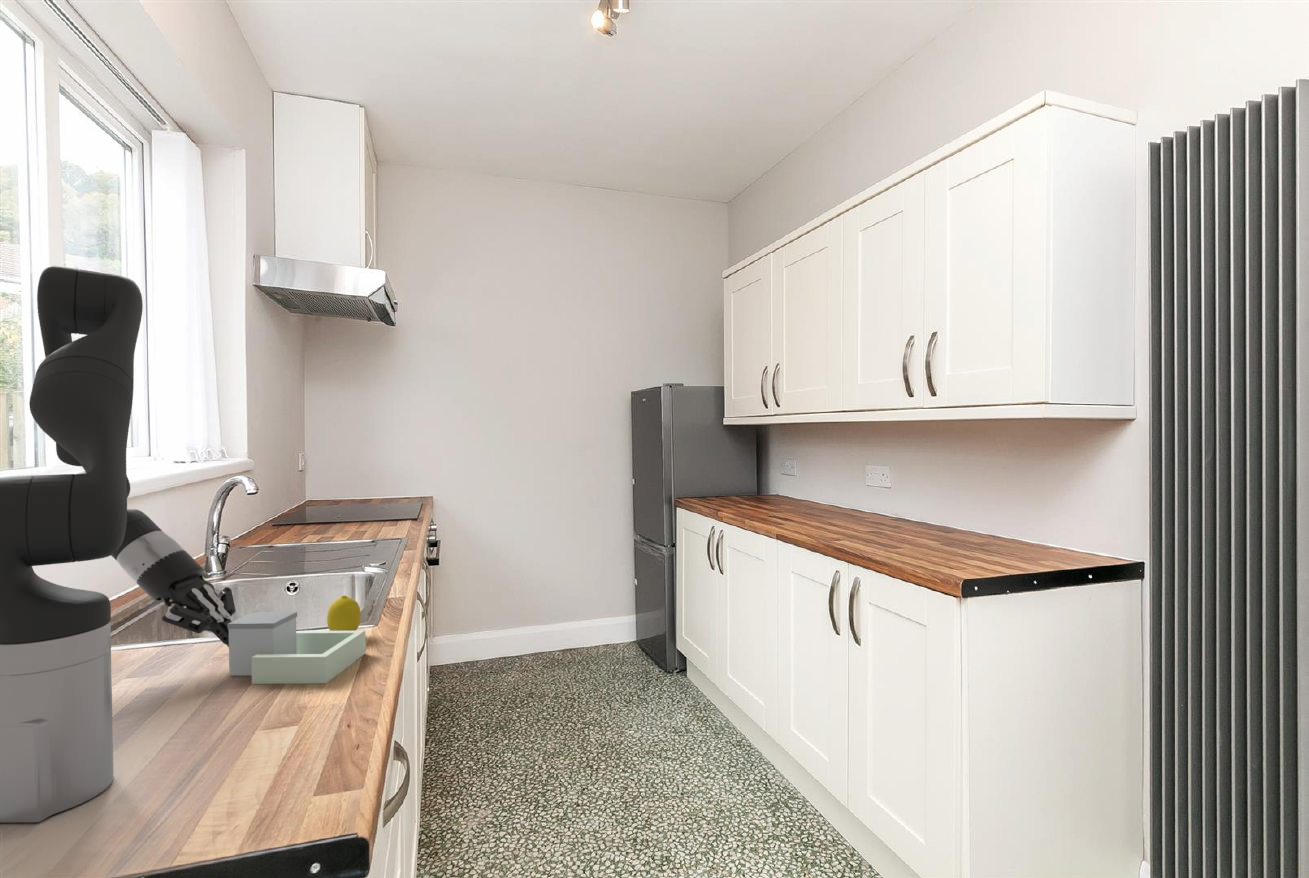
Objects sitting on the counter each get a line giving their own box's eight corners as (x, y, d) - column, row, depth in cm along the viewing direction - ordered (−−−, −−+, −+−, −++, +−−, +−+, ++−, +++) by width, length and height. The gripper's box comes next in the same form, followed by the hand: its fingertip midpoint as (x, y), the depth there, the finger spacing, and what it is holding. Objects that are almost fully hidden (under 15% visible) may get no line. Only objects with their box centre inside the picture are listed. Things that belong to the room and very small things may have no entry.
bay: (326, 683, 93) (325, 656, 93) (251, 683, 93) (251, 657, 93) (365, 654, 105) (365, 630, 105) (300, 654, 105) (299, 631, 105)
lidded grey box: (274, 675, 96) (273, 623, 96) (228, 675, 96) (227, 623, 96) (297, 660, 102) (297, 612, 102) (254, 661, 102) (253, 612, 102)
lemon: (351, 644, 110) (351, 599, 110) (321, 644, 110) (320, 599, 110) (366, 634, 116) (366, 591, 116) (337, 634, 116) (337, 591, 116)
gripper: (142, 557, 92) (225, 639, 92) (207, 542, 105) (279, 613, 106) (107, 593, 92) (190, 674, 92) (176, 573, 105) (248, 644, 106)
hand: (237, 642), depth 99 cm, fingers closed
